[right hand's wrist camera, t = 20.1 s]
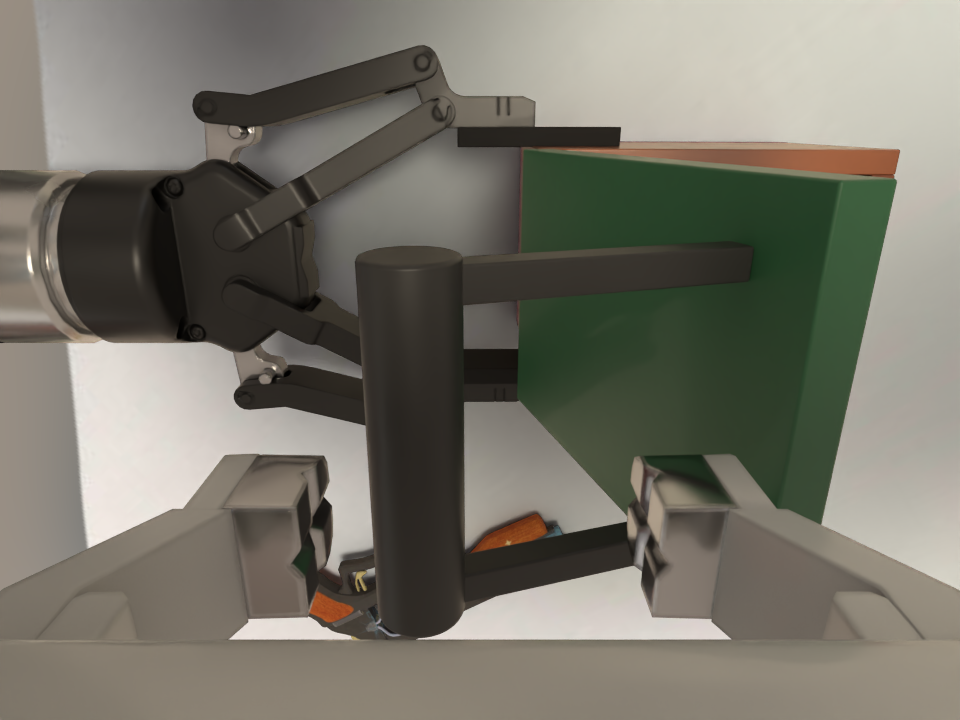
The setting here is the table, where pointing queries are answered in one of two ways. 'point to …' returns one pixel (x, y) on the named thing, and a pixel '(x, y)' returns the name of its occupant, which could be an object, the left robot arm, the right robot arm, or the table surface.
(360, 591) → the toy gun
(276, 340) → the table surface
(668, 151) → the chest
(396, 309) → the lid
